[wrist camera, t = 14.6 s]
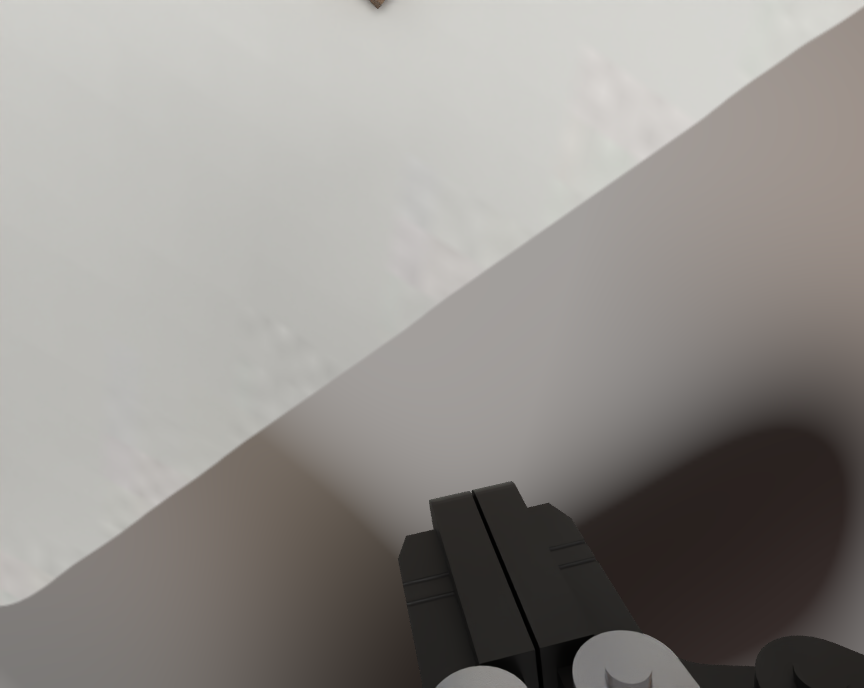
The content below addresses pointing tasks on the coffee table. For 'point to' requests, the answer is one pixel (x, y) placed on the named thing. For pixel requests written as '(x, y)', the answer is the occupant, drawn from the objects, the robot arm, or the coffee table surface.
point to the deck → (377, 3)
